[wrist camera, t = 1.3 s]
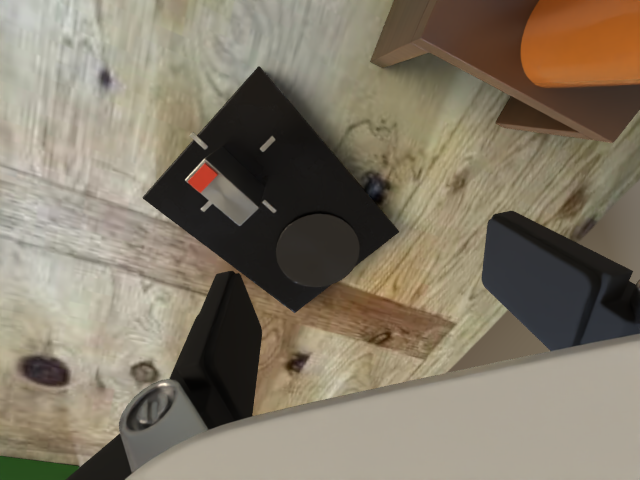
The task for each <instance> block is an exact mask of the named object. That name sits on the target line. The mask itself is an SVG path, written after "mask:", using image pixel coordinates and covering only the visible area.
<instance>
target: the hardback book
mask: <svg viewBox="0 0 640 480" xmlns="http://www.w3.org/2000/svg"><path fill="white" fill-rule="evenodd" d="M77 469H79V466H74V465H66V464H58V463H51V462H43V461H35V460H27V459H20V458H12V457H4V456H0V480H66V479H67V478H68V477H69V476H70V475H71V474H73V473H74V472H75V471H76V470H77Z"/></svg>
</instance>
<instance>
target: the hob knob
mask: <svg viewBox="0 0 640 480" xmlns="http://www.w3.org/2000/svg"><path fill="white" fill-rule="evenodd" d="M185 181H186V182H187V183H189V184H190V185H191V186H192V187H193V188H195V189H196V190H197V191H198V192H199V193H201V194H202V195H203V196H204V197H205V198H207V199H208V200H209V201H210V202H211V203H212V204H214V205H215V206H216V207H217V208H218V209H220V210H221V211H222V212H223V213H224V214H226V215H227V216H228V217H229V218H230V219H232V220H233V221H234V222H235V223H236V224H238V225H239V226H241V225H242V224H243V223H244V222H245V221H246V220H247V219H248V218H249V217H250V216H251V215H252V214H253V213H254V212H256V211H257V210H258V209H259V206H260V203H261V199H262V196H263V192H264V189H265V187H264V186H263V185H262V184H261V183H260V182H259V181H258V180H257V179H256V178H255V177H254V176H253V175H252V174H251V173H250V172H249V171H248V170H247V169H246V168H245V167H244V166H243V165H242V164H240V163H239V162H238V161H237V160H236V159H235V158H234V157H233V156H232V155H231V154H230V153H229V152H228V151H227V150H226V149H225V148H224V147H220V148H219V149H218V150H216V151H215V152H213V153H212V154H210V155H209V156H207V157H206V158H204V159H203V160H202V162H201V163H200V164H199V165H198V166H197V167H196V168H195V169H194V170H193V171H192V172H191V173H190V175H189V176H188V177H187V178H186V179H185Z"/></svg>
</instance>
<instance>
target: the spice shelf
mask: <svg viewBox="0 0 640 480" xmlns="http://www.w3.org/2000/svg"><path fill="white" fill-rule="evenodd" d="M538 2H539V0H394V2H393V4H392V7H391V9H390V12H389V14H388V17H387V20H386V22H385V25H384V27H383V30H382V32H381V35H380V38H379V40H378V43H377V45H376V48H375V51H374V53H373V56H372V58H371V61H370V62H372V63H374V64H376V65H378V66H380V67H382V68H384V67H387V66H390V65H393V64H396V63H399V62H402V61H405V60H408V59H411V58H414V57H417V56H420V55H423V54H426V53H429V52H430V53H431V54H433V55H435V56H437V57H439V58H441V59H443V60H445V61H446V62H448V63H450V64H452V65H454V66H456V67H458V68H460V69H462V70H463V71H465V72H467V73H469V74H471V75H473V76H475V77H477V78H478V79H480V80H482V81H484V82H486V83H488V84H490V85H492V86H493V87H495V88H497V89H499V90H501V91H503V92H505V93H507V94H508V95H510V96H511V98H510V99H509V101H508V103H507V104H506V106H505V108H504V109H503V111H502V113H501V114H500V116H499V118H498V119H497V121H496V124H498V125H500V126H502V127H504V128H509V129H517V130H524V131H531V132H539V133H546V134H553V135H561V136H568V137H575V138H582V139H590V140H596V141H603V142H611V143H613V142H614V141H615V140H616V139H617V138H618V136H619V135H620V134H621V133H622V131H623V130H624V129H625V127H626V126H627V125H628V124H629V122H630V121H631V120H632V119H633V117H634V116H635V115H636V114H637V112H638V111H639V110H640V85H620V86H595V87H570V88H543V87H540V86H537V85H536V84H534V83H533V82H532V81H530V80H529V78H528V77H527V76H526V74H525V72H524V70H523V67H522V63H521V54H520V50H521V41H522V36H523V32H524V29H525V26H526V23H527V21H528V19H529V17H530V14H531V13H532V11H533V9H534V7H535V6H536V4H537V3H538Z"/></svg>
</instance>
